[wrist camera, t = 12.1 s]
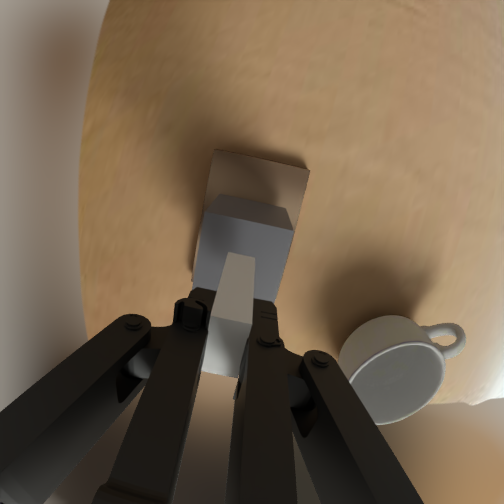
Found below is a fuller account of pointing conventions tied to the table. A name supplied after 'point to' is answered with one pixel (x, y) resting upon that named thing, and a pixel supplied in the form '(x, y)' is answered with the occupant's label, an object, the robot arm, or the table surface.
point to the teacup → (397, 364)
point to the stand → (255, 184)
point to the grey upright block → (244, 242)
